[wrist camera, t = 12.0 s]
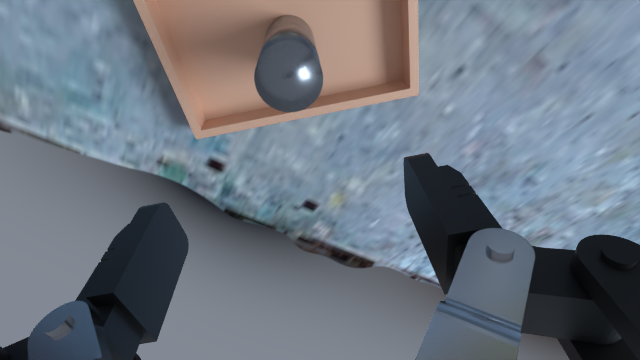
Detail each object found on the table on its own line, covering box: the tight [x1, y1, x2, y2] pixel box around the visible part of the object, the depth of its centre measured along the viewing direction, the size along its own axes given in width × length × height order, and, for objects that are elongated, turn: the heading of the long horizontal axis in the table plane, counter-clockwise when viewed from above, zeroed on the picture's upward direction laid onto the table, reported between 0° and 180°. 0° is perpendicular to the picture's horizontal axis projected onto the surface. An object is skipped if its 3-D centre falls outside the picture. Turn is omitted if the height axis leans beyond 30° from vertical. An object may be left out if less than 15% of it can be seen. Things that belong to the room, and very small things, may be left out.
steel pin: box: [254, 15, 323, 112], centre depth 26 cm, size 4×4×11 cm
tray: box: [133, 0, 419, 139], centre depth 30 cm, size 22×13×3 cm, turn 100°
